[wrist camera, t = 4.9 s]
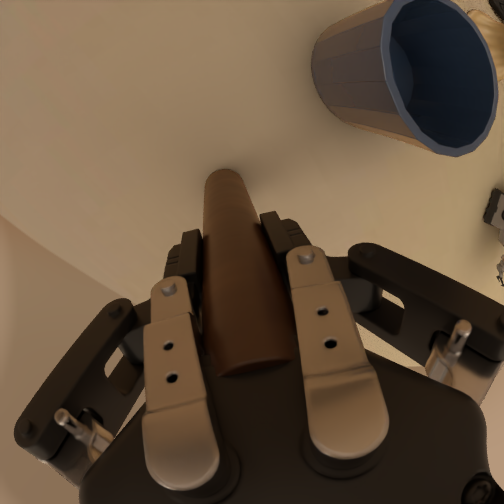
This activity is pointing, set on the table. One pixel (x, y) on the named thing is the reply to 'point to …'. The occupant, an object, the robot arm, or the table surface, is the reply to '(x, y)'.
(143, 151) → the table surface
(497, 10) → the hairbrush
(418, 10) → the cup
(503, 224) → the figurine
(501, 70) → the hand bell
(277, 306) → the stick
